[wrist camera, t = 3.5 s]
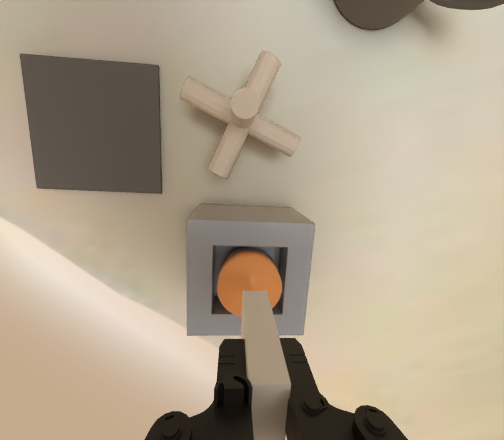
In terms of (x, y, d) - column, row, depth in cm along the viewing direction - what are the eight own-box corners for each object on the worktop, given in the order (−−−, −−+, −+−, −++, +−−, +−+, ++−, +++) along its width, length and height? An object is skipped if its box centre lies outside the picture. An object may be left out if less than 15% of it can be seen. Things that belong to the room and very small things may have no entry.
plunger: (219, 246, 21) (217, 257, 18) (278, 247, 21) (284, 258, 19) (218, 300, 22) (216, 317, 19) (274, 301, 22) (279, 317, 20)
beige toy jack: (306, 105, 25) (351, 66, 16) (262, 193, 27) (278, 208, 17) (216, 53, 24) (204, -26, 14) (175, 150, 25) (138, 140, 16)
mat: (24, 56, 23) (19, 53, 22) (159, 67, 24) (157, 65, 23) (40, 187, 25) (36, 188, 25) (162, 193, 26) (160, 193, 26)
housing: (200, 203, 27) (186, 219, 19) (292, 207, 27) (315, 223, 20) (199, 289, 29) (186, 335, 21) (284, 290, 29) (303, 335, 22)
